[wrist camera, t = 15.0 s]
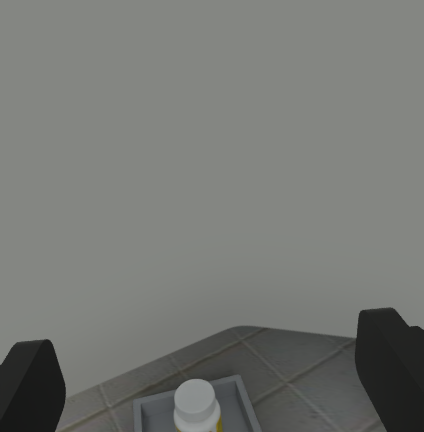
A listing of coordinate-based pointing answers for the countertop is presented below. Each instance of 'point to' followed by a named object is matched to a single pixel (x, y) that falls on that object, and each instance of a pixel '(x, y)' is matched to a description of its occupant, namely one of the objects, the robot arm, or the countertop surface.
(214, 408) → the supplement bottle
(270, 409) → the countertop surface
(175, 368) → the countertop surface
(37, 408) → the robot arm
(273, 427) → the countertop surface
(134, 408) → the bin
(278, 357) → the countertop surface
